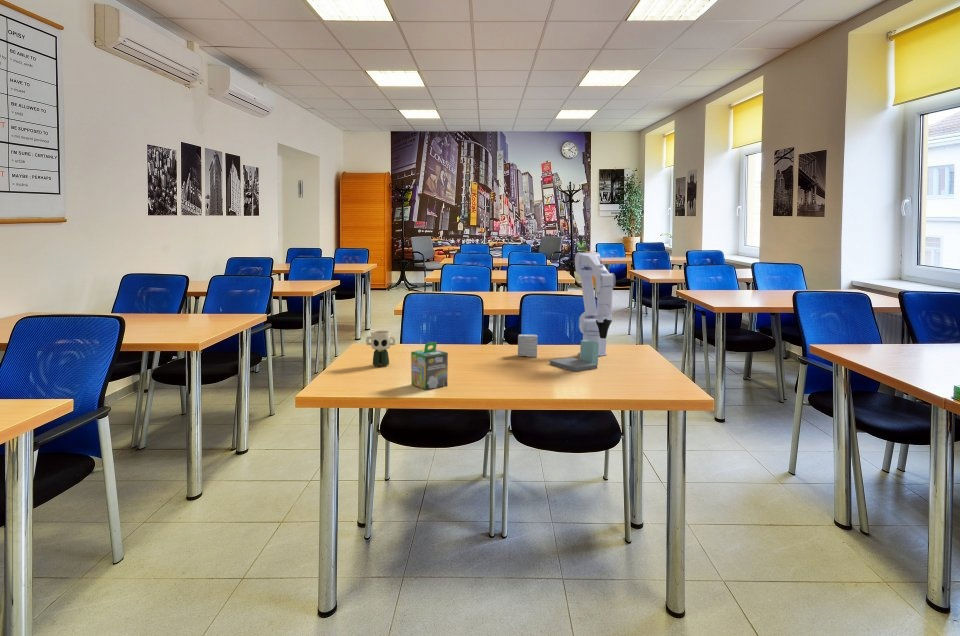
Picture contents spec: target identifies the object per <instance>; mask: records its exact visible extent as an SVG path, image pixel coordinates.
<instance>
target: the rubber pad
mask: <svg viewBox="0 0 960 636" xmlns="http://www.w3.org/2000/svg"><path fill="white" fill-rule="evenodd" d="M549 365H552V366H556V367H559V368H561V369H565V370H567V371H572V372H574V371H575V373H576V371H577V372H583V371H589V369H590V370H596V369H595V368H597V369H598V366H597V364H593V363H590V362H586V361H583V360H580V358H574V357H564V358H557V359H550V360H549ZM582 370H583V371H582Z"/></svg>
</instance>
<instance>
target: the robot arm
mask: <svg viewBox="0 0 960 636" xmlns="http://www.w3.org/2000/svg"><path fill="white" fill-rule="evenodd" d="M574 268H575V271H576V272H575V273H576V274H577V275H579V279H580V283H581V290H582V291H581V292H582V299H583V306H584V312H583V313H581V314H580V316H579V319H578V320H579V321H578V327H579V331H580V333H581V334H582V340H589V341H594V342H598V343H599V350H598V357H601V356H602V357H603V356H607V354H608V353H607V351H606V350H607V337H608V336H607V335H608V332H609V329H610V325H611V324H612V322H613V320H612V318H613V315H612V312H613V311H612V310H613V309H612V308H613V291H614V288H615V286H616V275H615V273H614V272H611V273H610V272H609V270H608V269H607V268H606V266H605V265H604V264H603V263H601V254H600V253H599V251H598V252H597V251H596V252H578V251H577V253H576V254H575V256H574ZM593 277H594V279H595V284H596V285H595V286H596V292H597V296H596V297H597V298H595V289H594V282H593ZM596 299H597V300H596ZM577 354H578V355H580V351H579V352H578V353H577Z"/></svg>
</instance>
